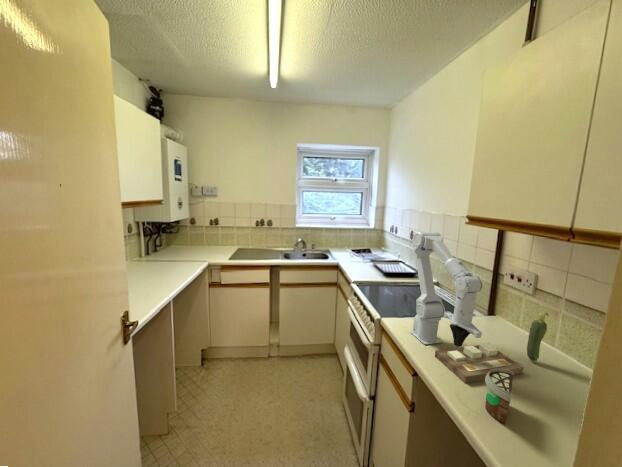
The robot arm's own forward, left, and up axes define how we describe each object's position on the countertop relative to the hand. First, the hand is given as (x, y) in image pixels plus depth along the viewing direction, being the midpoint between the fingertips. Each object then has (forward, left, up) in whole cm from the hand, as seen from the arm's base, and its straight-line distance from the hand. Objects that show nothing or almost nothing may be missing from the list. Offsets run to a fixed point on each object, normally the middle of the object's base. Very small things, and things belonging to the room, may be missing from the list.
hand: (457, 345), depth 95 cm
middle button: (0, +7, -5) cm, 8 cm away
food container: (+20, -5, -7) cm, 21 cm away
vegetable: (+5, +30, -7) cm, 31 cm away
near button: (0, 0, -6) cm, 6 cm away
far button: (0, +14, -5) cm, 15 cm away
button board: (+3, +7, -7) cm, 10 cm away
